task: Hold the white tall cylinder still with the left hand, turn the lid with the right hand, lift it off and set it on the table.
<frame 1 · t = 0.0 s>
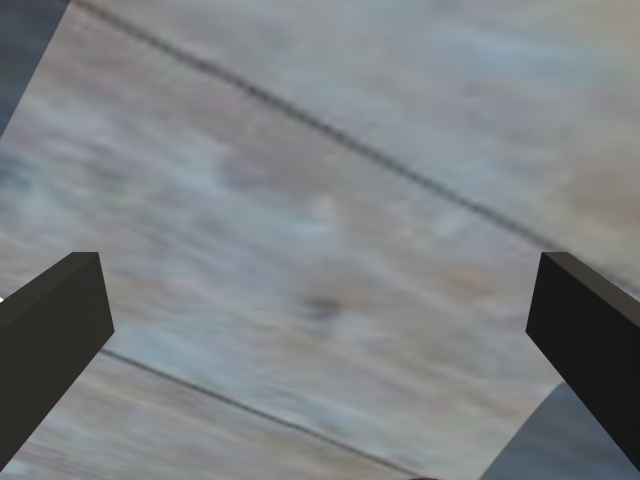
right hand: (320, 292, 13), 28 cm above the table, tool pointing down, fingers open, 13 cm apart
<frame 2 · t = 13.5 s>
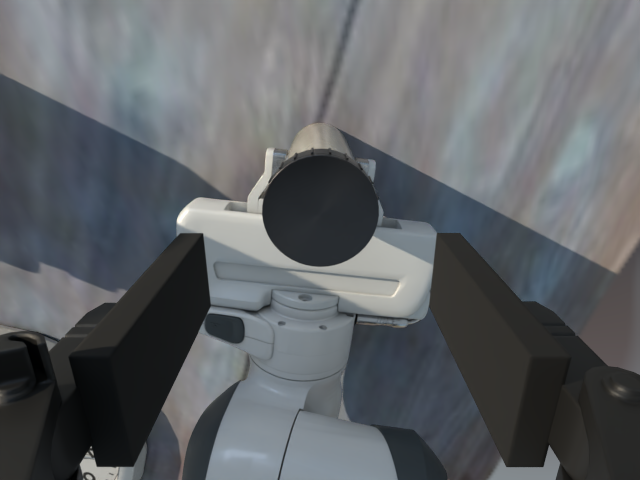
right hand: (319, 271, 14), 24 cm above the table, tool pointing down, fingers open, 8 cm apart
left hand: (321, 154, 31), fingers closed on white tall cylinder, 5 cm apart
white tall cylinder: (320, 152, 37), on the table, touching left hand
wall clock: (16, 434, 48), on the table
lid: (320, 211, 20), point 17 cm above the table, screwed on, not yet turned
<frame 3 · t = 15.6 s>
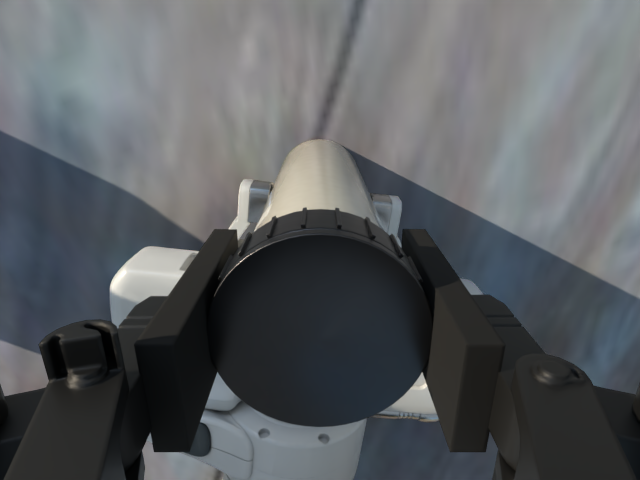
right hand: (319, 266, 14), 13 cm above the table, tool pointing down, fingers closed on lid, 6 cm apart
white tall cylinder: (319, 179, 27), on the table, touching left hand
lid: (319, 332, 11), point 17 cm above the table, screwed on, not yet turned, touching right hand
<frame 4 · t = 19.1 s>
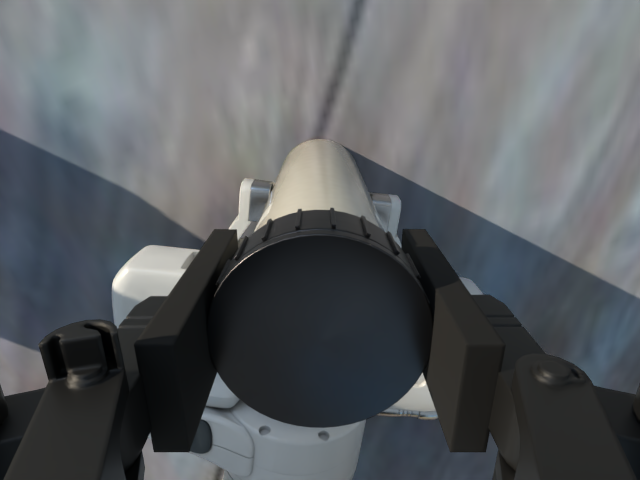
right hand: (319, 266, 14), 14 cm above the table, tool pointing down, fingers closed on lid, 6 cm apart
white tall cylinder: (319, 178, 27), on the table, touching left hand
lid: (320, 332, 11), point 18 cm above the table, turned 123° so far, risen 0.2 cm, still on its thread, touching right hand
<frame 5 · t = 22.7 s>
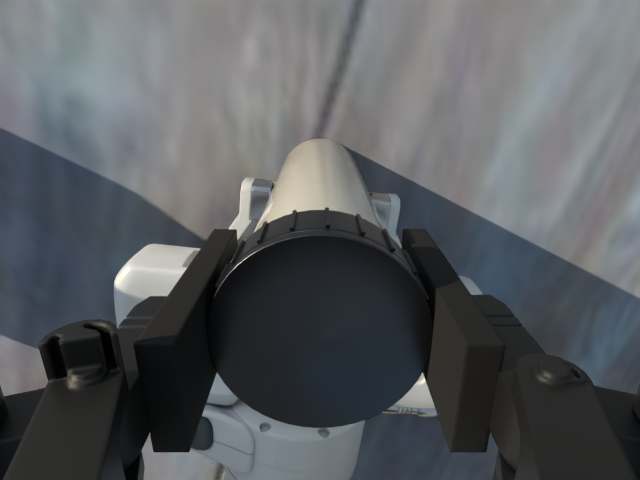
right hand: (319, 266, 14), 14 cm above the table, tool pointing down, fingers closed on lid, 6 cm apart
white tall cylinder: (319, 178, 27), on the table, touching left hand
lid: (319, 332, 11), point 18 cm above the table, turned 246° so far, risen 0.4 cm, still on its thread, touching right hand
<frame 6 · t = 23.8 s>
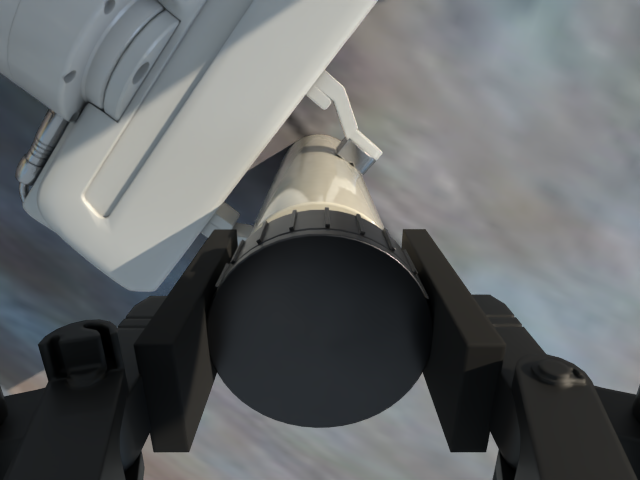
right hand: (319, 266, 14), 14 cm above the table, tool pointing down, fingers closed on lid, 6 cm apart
left hand: (332, 208, 22), fingers closed on white tall cylinder, 5 cm apart
white tall cylinder: (318, 173, 28), on the table, touching left hand
lid: (319, 332, 11), point 18 cm above the table, off its thread, touching right hand
when the right hand's fingers open (0 cm above the table, at t = 30.2 s): lid drops 3 cm, point 2 cm above the table.
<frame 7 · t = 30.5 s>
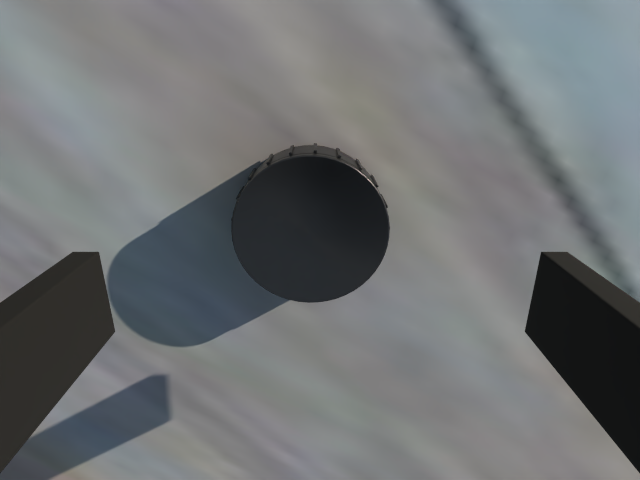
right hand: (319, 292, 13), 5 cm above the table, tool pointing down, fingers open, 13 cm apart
lid: (310, 230, 15), point 2 cm above the table, off its thread
when the left hand's fingers open (6 cm above the table, at t = 30.9 s): white tall cylinder stays where it is, on the table.
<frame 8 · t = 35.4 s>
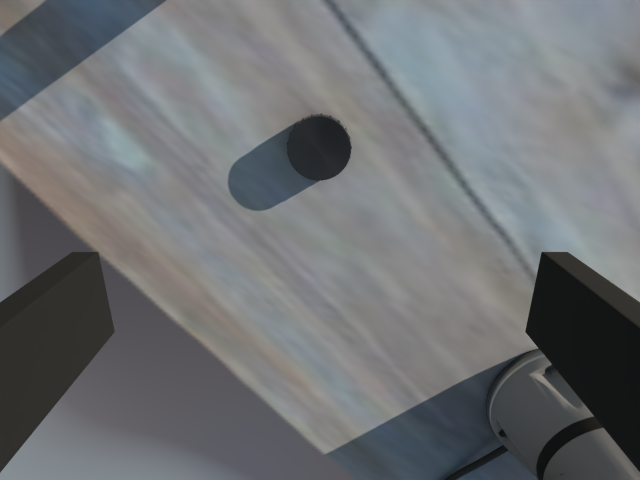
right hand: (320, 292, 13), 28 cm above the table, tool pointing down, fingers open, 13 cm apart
lid: (319, 148, 37), point 2 cm above the table, off its thread
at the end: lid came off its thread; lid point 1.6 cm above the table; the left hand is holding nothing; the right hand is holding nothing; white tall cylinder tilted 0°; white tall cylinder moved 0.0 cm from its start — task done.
